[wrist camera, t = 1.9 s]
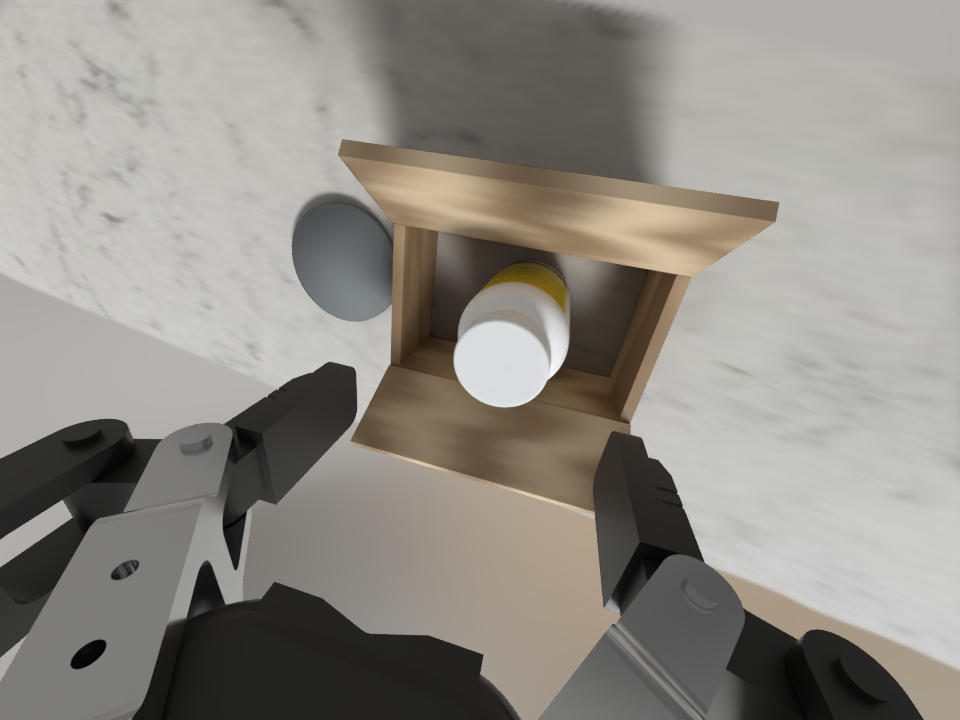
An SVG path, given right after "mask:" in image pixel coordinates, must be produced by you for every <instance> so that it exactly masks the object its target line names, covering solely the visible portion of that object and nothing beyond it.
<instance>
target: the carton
mask: <svg viewBox="0 0 960 720" xmlns="http://www.w3.org/2000/svg"><path fill="white" fill-rule="evenodd" d="M338 156H339V157H340V158H341V160H342V161H343V162H344V163H345V165H346V166H347V167H348V168H349V170H350V171H351V172H352V173H353V174H354V176H355V177H356V178H357V179H358V181H359V182H360V183H361V184H362V186H363V187H364V188H365V189H366V191H367V192H368V193H369V194H370V196H371V197H372V198H373V199H374V200H375V202H376V203H377V204H378V205H379V207H380V208H381V209H382V210H383V212H384V213H385V214H386V215H387V217H388V218H389V219H390V220H391V222H392V223H394V243H393V287H392V331H391V365H389V367H388V369H387V371H386V373H385V374H384V376H383V378H382V380H381V382H380V384H379V386H378V388H377V390H376V392H375V394H374V396H373V398H372V400H371V402H370V404H369V406H368V408H367V410H366V411H365V413H364V415H363V417H362V419H361V421H360V423H359V425H358V427H357V429H356V431H355V433H354V435H353V437H352V439H351V442H352V444H353V445H355V446H359V447H362V448H365V449H369V450H373V451H376V452H380V453H383V454H386V455H389V456H393V457H396V458H400V459H403V460H407V461H410V462H413V463H417V464H421V465H424V466H427V467H431V468H434V469H437V470H441V471H445V472H448V473H451V474H455V475H458V476H461V477H465V478H468V479H472V480H475V481H479V482H482V483H485V484H489V485H492V486H496V487H499V488H503V489H506V490H509V491H513V492H517V493H520V494H523V495H527V496H530V497H533V498H537V499H540V500H544V501H547V502H551V503H554V504H557V505H561V506H564V507H568V508H571V509H575V510H578V511H581V512H585V513H588V514H592V515H595V510H594V499H593V481H594V476H595V472H596V469H597V466H598V464H599V461H600V459H601V456H602V454H603V451H604V448H605V446H606V443H607V441H608V438H609V436H610V434H611V432H612V431H616V432H621V433H625V434H629V435H630V428H631V425H630V422H631V420H632V417H633V415H634V413H635V410H636V408H637V406H638V403H639V401H640V398H641V396H642V394H643V391H644V389H645V387H646V384H647V382H648V379H649V377H650V375H651V372H652V370H653V368H654V365H655V363H656V360H657V358H658V356H659V353H660V351H661V349H662V346H663V344H664V341H665V339H666V337H667V334H668V332H669V330H670V327H671V325H672V322H673V320H674V318H675V315H676V313H677V311H678V308H679V306H680V303H681V301H682V299H683V296H684V294H685V292H686V289H687V287H688V284H689V282H690V280H691V277H694V276H695V275H697V274H698V273H700V272H701V271H703V270H704V269H706V268H707V267H709V266H710V265H712V264H713V263H715V262H716V261H718V260H719V259H721V258H722V257H724V256H725V255H727V254H728V253H730V252H731V251H733V250H734V249H736V248H737V247H739V246H740V245H742V244H743V243H745V242H746V241H748V240H749V239H751V238H752V237H754V236H755V235H757V234H758V233H760V232H761V231H763V230H764V229H765V228H767V227H768V226H770V225H771V224H773V223H774V222H775V221H776V216H777V211H778V206H779V202H773V201H766V200H759V199H752V198H745V197H738V196H731V195H724V194H717V193H711V192H704V191H697V190H690V189H683V188H676V187H669V186H662V185H655V184H648V183H641V182H634V181H627V180H620V179H614V178H607V177H600V176H593V175H586V174H579V173H572V172H565V171H558V170H551V169H544V168H537V167H530V166H524V165H517V164H510V163H503V162H496V161H489V160H482V159H475V158H468V157H461V156H454V155H447V154H440V153H434V152H427V151H420V150H413V149H406V148H399V147H392V146H385V145H378V144H371V143H364V142H357V141H350V140H343V139H342V142H341V146H340V150H339V153H338ZM438 232H444V233H449V234H455V235H460V236H466V237H471V238H477V239H482V240H488V241H493V242H499V243H504V244H510V245H515V246H521V247H527V248H532V249H538V250H543V251H549V252H554V253H560V254H565V255H571V256H576V257H582V258H587V259H593V260H598V261H604V262H609V263H615V264H620V265H626V266H632V267H637V268H643V269H648V270H649V271H648V274H647V277H646V280H645V282H644V285H643V288H642V291H641V293H640V296H639V299H638V302H637V305H636V307H635V310H634V313H633V316H632V318H631V321H630V324H629V327H628V329H627V332H626V335H625V338H624V341H623V343H622V346H621V349H620V352H619V354H618V357H617V360H616V363H615V366H614V368H613V371H612V374H611V377H610V378H609V377H605V376H600V375H596V374H592V373H587V372H583V371H579V370H574V369H570V368H566V367H560V368H559V370H558V371H557V372H556V373H555V374H554V375H553V376H552V377H551V378H550V379H548V380H547V382H546V384H545V386H544V387H543V389H542V390H541V392H540V393H539V394H538V395H537V396H536V397H534V398H533V399H532V400H530V401H529V402H527V403H525V404H522V405H519V406H514V407H496V406H492V405H488V404H486V403H483V402H481V401H479V400H478V399H476V398H474V397H473V396H472V395H471V394H470V393H469V392H468V391H467V390H466V389H465V388H464V387H463V386H462V384H461V383H460V381H459V379H458V377H457V375H456V372H455V368H454V350H455V347H456V344H457V342H453V341H448V340H444V339H440V338H435V337H431V336H430V328H431V316H432V303H433V290H434V278H435V265H436V252H437V239H438Z"/></svg>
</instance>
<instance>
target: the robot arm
mask: <svg viewBox="0 0 960 720" xmlns="http://www.w3.org/2000/svg"><path fill="white" fill-rule="evenodd" d="M356 413H357V385H356V371H355V369H354V368H353V367H350V366H346V365H342V364H338V363H333V362H328V363H326V364H325V365H323V366H322V367H320V368H319V369H317V370H316V371H314V372H313V373H308V374H305V375H302V376H300V377H297V378H294V379H292V380H290V381H289V382H287V383H286V384H284V385H283V386H281V387H280V388H279V390H275V391H274V392H272V393H271V394H269V395H268V397H264V398H263V399H262V400H260V401H259V402H257V403H255V404H254V405H252V406H251V407H249V408H248V409H246V410H245V411H243V412H242V413H240V414H239V415H237V416H236V417H234V418H232V419H231V420H229V421H228V422H226V423H225V424H220V423H202V424H196V425H192V426H188V427H185V428H182V429H180V430H178V431H175V432H173V433H171V434H170V435H168V436H167V437H165V438H164V439H133V437H132V435H131V432H130V430H129V428H128V425H127V424H126V423H125V422H123V421H120V420H116V419H99V420H92V421H86V422H83V423H78V424H75V425H72V426H69V427H66V428H64V429H61V430H59V431H57V432H55V433H53V434H51V435H49V436H47V437H44V438H42V439H40V440H38V441H36V442H34V443H32V444H30V445H28V446H26V447H24V448H22V449H20V450H18V451H16V452H13V453H12V454H9V455H7V456H5V457H3V458H1V459H0V539H1V538H3V537H4V536H6V535H7V534H9V533H10V532H12V531H14V530H15V529H17V528H18V527H20V526H22V525H23V524H25V523H26V522H28V521H29V520H31V519H33V518H34V517H36V516H37V515H39V514H40V513H42V512H44V511H45V510H47V509H48V508H50V507H51V506H53V505H54V504H56V503H58V502H59V501H61V500H63V501H64V503H65V504H66V506H67V508H68V510H69V511H70V513H71V515H72V516H73V518H72V519H70V520H69V521H67V522H66V523H65V524H63V525H61V526H60V527H59V528H57V529H56V530H54V531H53V532H51V533H50V534H48V535H47V536H46V537H44V538H43V539H41V540H40V541H39V542H37V543H35V544H34V545H32V546H31V547H29V548H28V549H26V550H25V551H24V552H22V553H21V554H19V555H18V556H16V557H15V558H13V559H12V560H10V561H9V562H7V563H6V564H5V565H3V566H2V567H0V657H1V656H2V655H4V654H5V653H6V652H7V651H8V650H10V649H11V648H12V647H13V646H14V645H15V644H16V643H18V642H19V641H20V640H21V639H22V638H24V637H25V636H26V635H27V634H28V635H27V637H26V638H25V640H24V642H23V644H22V645H21V647H20V649H19V650H18V652H17V654H16V656H15V657H14V659H13V661H12V663H11V664H10V666H9V668H8V669H7V671H6V673H5V675H4V676H3V678H2V680H1V682H0V720H521V719H520V717H519V716H518V714H517V712H516V711H515V710H514V708H513V707H512V706H511V704H510V703H509V702H508V700H507V699H506V698H505V696H504V695H503V694H502V693H501V692H500V691H499V690H498V689H497V688H496V687H495V686H494V685H493V684H492V683H491V682H490V681H489V680H487V679H486V678H485V677H483V676H482V675H481V674H480V671H481V665H482V659H483V654H480V653H477V652H474V651H471V650H468V649H466V648H463V647H460V646H457V645H454V644H451V643H449V642H445V641H443V640H440V639H437V638H434V637H431V636H426V635H389V634H369V633H366V632H364V631H362V630H361V629H360V628H358V627H357V626H356V625H355V624H353V623H352V622H351V621H350V620H348V619H347V618H346V617H345V616H344V615H342V614H341V613H340V612H339V611H337V610H336V609H335V608H334V607H332V606H331V605H330V604H329V603H327V602H326V601H325V600H324V599H322V598H320V597H317V596H313V595H311V594H308V593H305V592H302V591H299V590H297V589H294V588H291V587H288V586H285V585H282V584H279V583H276V582H274V583H273V585H272V586H271V587H270V589H269V590H268V591H267V592H266V594H265V595H264V596H263V598H262V599H255V600H245V601H243V591H242V583H243V573H244V566H245V559H246V553H247V545H248V539H249V532H250V525H251V518H252V511H251V506H252V505H253V504H254V503H255V502H256V501H257V500H258V499H260V500H263V501H266V502H269V503H273V504H277V503H278V502H279V501H280V500H281V499H282V498H283V497H284V496H285V495H286V493H288V491H289V490H290V489H291V488H292V487H293V486H294V485H295V484H296V483H297V482H298V481H299V480H300V479H301V478H302V477H303V476H304V475H305V474H306V473H307V471H308V470H309V469H310V468H311V467H312V466H313V465H314V464H315V463H316V462H317V461H318V460H319V459H320V458H321V457H322V456H323V455H324V453H325V452H326V451H327V450H328V449H329V448H330V447H331V446H332V445H333V444H334V443H335V442H336V441H337V440H338V439H339V438H340V437H341V436H342V435H343V433H344V432H345V431H346V430H347V429H348V428H349V427H350V426H351V424H352V423H353V421H354V419H355V417H356ZM593 499H594V510H595V521H596V531H597V542H598V552H599V563H600V574H601V584H602V595H603V606H604V609H605V610H608V611H612V612H615V613H618V614H620V616H621V618H620V619H619V620H618V621H617V623H616V624H615V625H614V624H613V625H612V626H610V628H609V629H608V630H607V631H606V632H605V634H604V635H603V636H602V638H601V639H600V640H599V641H598V643H597V644H596V645H595V647H594V648H593V649H592V650H591V652H590V653H589V654H588V656H587V657H586V658H585V660H584V661H583V662H582V663H581V665H580V666H579V667H578V669H577V670H576V671H575V673H574V674H573V675H572V676H571V678H570V679H569V680H568V682H567V683H566V684H565V685H564V687H563V688H562V689H561V691H560V692H559V693H558V695H557V696H556V697H555V699H554V700H553V701H552V702H551V704H550V705H549V706H548V708H547V709H546V710H545V711H544V713H543V714H542V716H541V717H540V718H539V719H538V720H923V718H922V716H921V715H920V713H919V712H918V710H917V709H916V707H915V706H914V704H913V703H912V701H911V700H910V698H909V697H908V695H907V694H906V693H905V691H904V690H903V688H902V687H901V686H900V685H899V684H898V683H897V681H896V680H895V679H894V678H893V677H892V676H891V675H890V674H889V673H888V672H887V671H886V670H885V669H884V668H883V667H882V666H881V665H880V664H879V663H878V662H877V661H876V660H875V659H873V658H872V657H871V656H870V655H868V654H867V653H866V652H864V651H863V650H862V649H860V648H859V647H858V646H856V645H855V644H853V643H851V642H850V641H848V640H846V639H844V638H842V637H840V636H839V635H836V634H834V633H831V632H828V631H824V630H817V629H816V630H810V631H808V632H806V633H805V634H804V635H803V636H802V637H801V638H800V639H799V640H797V639H795V638H794V637H792V636H790V635H788V634H787V633H785V632H783V631H781V630H780V629H778V628H776V627H774V626H773V625H771V624H769V623H767V622H766V621H764V620H762V619H760V618H758V617H757V616H755V615H753V614H752V613H750V612H748V611H747V610H745V609H744V608H743V606H742V604H741V601H740V599H739V597H738V596H737V594H736V592H735V591H734V589H733V588H732V587H731V585H730V584H729V583H728V582H727V581H726V580H725V579H724V578H723V577H722V576H721V575H720V574H719V573H718V572H717V571H715V570H714V569H713V568H711V567H710V566H709V565H707V564H705V562H704V559H703V557H702V554H701V552H700V549H699V546H698V544H697V541H696V539H695V536H694V533H693V531H692V528H691V526H690V523H689V520H688V518H687V515H686V513H685V510H684V509H682V506H683V505H682V502H681V500H680V497H679V495H677V489H676V487H675V484H674V481H673V479H672V476H671V475H670V474H669V472H668V471H667V470H666V469H665V468H664V466H663V465H662V464H661V463H660V462H659V461H658V460H656V459H652V458H648V455H647V452H646V449H645V446H644V443H643V440H642V438H641V437H637V436H633V435H629V434H625V433H621V432H616V431H612V432H611V434H610V436H609V438H608V441H607V443H606V446H605V448H604V451H603V454H602V456H601V459H600V461H599V464H598V466H597V469H596V472H595V476H594V481H593Z"/></svg>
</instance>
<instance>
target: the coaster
mask: <svg viewBox="0 0 960 720" xmlns="http://www.w3.org/2000/svg"><path fill="white" fill-rule="evenodd" d="M292 256H293V263H294V267H295V270H296V273H297V276H298V278H299V280H300V282H301V284H302V286H303V288H304V289H305V291H306V292H307V294H308V295H309V296H310V298H311V299H312V300H313V301H314V302H315V303H316V304H317V305H318V306H319V307H320V308H322V309H323V310H324V311H326V312H327V313H329V314H331V315H333V316H335V317H337V318H340V319H343V320H347V321H365V320H368V319H371V318H373V317H375V316H377V315H379V314H380V313H382V312H383V311H385V310H386V309H387V308H388V307H389V306H390V304H391V303H392V287H393V242H392V240H391V238H390V237H389V235H388V234H387V232H386V231H385V229H384V228H383V227H382V226H381V224H380V223H379V222H378V221H377V220H376V219H375V218H374V217H372V216H371V215H370V214H368V213H367V212H365V211H363V210H362V209H360V208H357V207H355V206H352V205H348V204H342V203H329V204H323V205H319V206H317V207H315V208H313V209H311V210H310V211H308V212H307V213H306V214H305V215H304V216H303V217H302V219H301V220H300V221H299V223H298V225H297V227H296V230H295V233H294V236H293V242H292Z"/></svg>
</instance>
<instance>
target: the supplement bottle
mask: <svg viewBox="0 0 960 720" xmlns="http://www.w3.org/2000/svg"><path fill="white" fill-rule="evenodd" d="M570 308H571V302H570V293H569V289H568V287H567V284H566V282H565V281H564V279H563V278H562V276H561V275H560V274H559V273H558V272H557V271H556V270H555V269H553V268H552V267H550V266H549V265H547V264H544V263H541V262H538V261H531V260H527V261H519V262H516V263H513V264H511V265H508V266H507V267H505V268H503V269H502V270H500V271H499V272H498V273H497V274H496V275H495V276H494V277H493V278H492V279H491V280H490V281H489V282H488V283H487V284H486V285H485V286H484V287H483V288H482V289H481V290H480V291H479V292H478V293H477V294H476V295H475V297H474V298H473V299H472V300H471V301H470V302H469V304H468V305H467V307H466V308H465V310H464V312H463V314H462V316H461V319H460V322H459V326H458V342H457V344H456V347H455V350H454V368H455V372H456V375H457V377H458V379H459V381H460V383H461V384H462V386H463V387H464V388H465V389H466V390H467V391H468V392H469V393H470V394H471V395H472V396H473V397H474V398H476V399H478V400H479V401H481V402H483V403H486V404H488V405H492V406H496V407H514V406H519V405H522V404H525V403H527V402H529V401H530V400H532V399H533V398H534V397H536V396H537V395H538V394H539V393H540V392H541V390H542V389H543V387H544V386H545V384H546V382H547V380H548V379H550V378H551V377H552V376H553V375H554V374H555V373H556V372H557V371H558V370H559V368H560V367H561V365H562V364H563V362H564V360H565V357H566V354H567V351H568V346H569V337H570Z"/></svg>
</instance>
